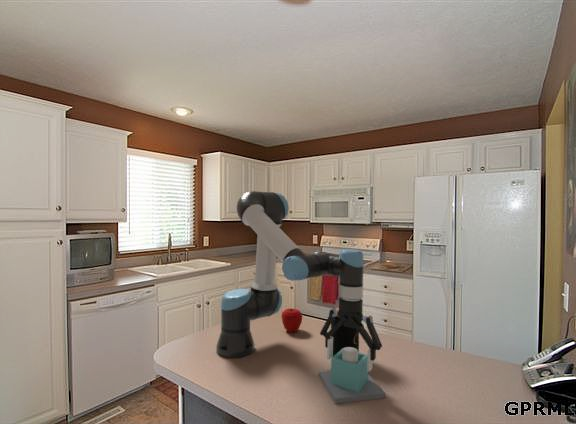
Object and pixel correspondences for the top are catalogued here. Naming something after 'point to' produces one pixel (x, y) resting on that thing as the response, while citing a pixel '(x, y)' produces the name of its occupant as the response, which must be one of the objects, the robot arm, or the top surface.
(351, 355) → the grey square base plate
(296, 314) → the apple
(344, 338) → the coffee jar
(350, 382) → the teal storage bin
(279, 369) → the top surface
